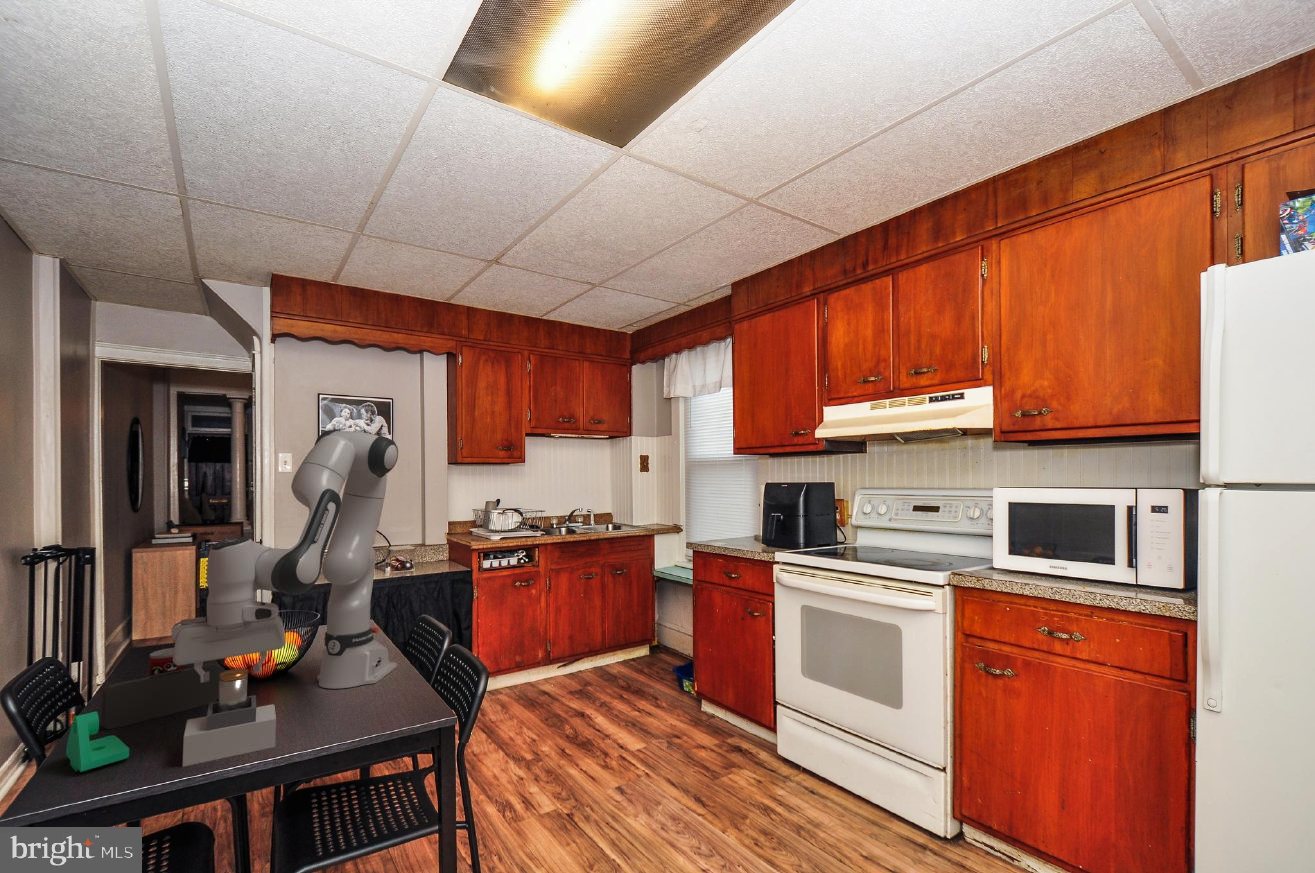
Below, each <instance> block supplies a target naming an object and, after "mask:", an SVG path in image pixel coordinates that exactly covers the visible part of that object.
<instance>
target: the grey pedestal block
mask: <svg viewBox="0 0 1315 873" xmlns="http://www.w3.org/2000/svg"><path fill="white" fill-rule="evenodd" d="M275 708H276V707H275V704H267V705H262V706H258V707H257V696H256V694H255V695H250V696H248V695H247V701H246V708H244V709H238V710H233V711H227V712H221V713H218V710H219V701H216V702H213V703H209V704H208V708H207V713H206V714H207V715H206V716H201V717H196V718H190V719H187V720H186V724H185V730H184V733H183V734H184V735H183V746H182V748H183V750H182V768H183V767H188V766H193V765H197V764H202V763H206V762H212V761H216V760H221V759H225V758H231V757H235V756H240V755H245V754H248V753H253V752H254V753H255V752H257V751H258V752H260V751H262V750H267V749H273V748H276V738H277V736H276V733H277V732H276V731H277V729H276V728H277V715H276V709H275Z"/></svg>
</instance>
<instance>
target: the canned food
mask: <svg viewBox="0 0 1315 873" xmlns="http://www.w3.org/2000/svg"><path fill="white" fill-rule="evenodd" d="M173 653H174V647H169V648H162V649H159V650H156V651H153V652H151V653H150V654H149V659H148V660H149V661H148V662H149V663H148V676H151V675H155V674H160V673H165V672H170V671H174V670H179V669H184V668H187V664H185V665H179V666H178V665H176V664H175V663H174V662H173Z"/></svg>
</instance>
